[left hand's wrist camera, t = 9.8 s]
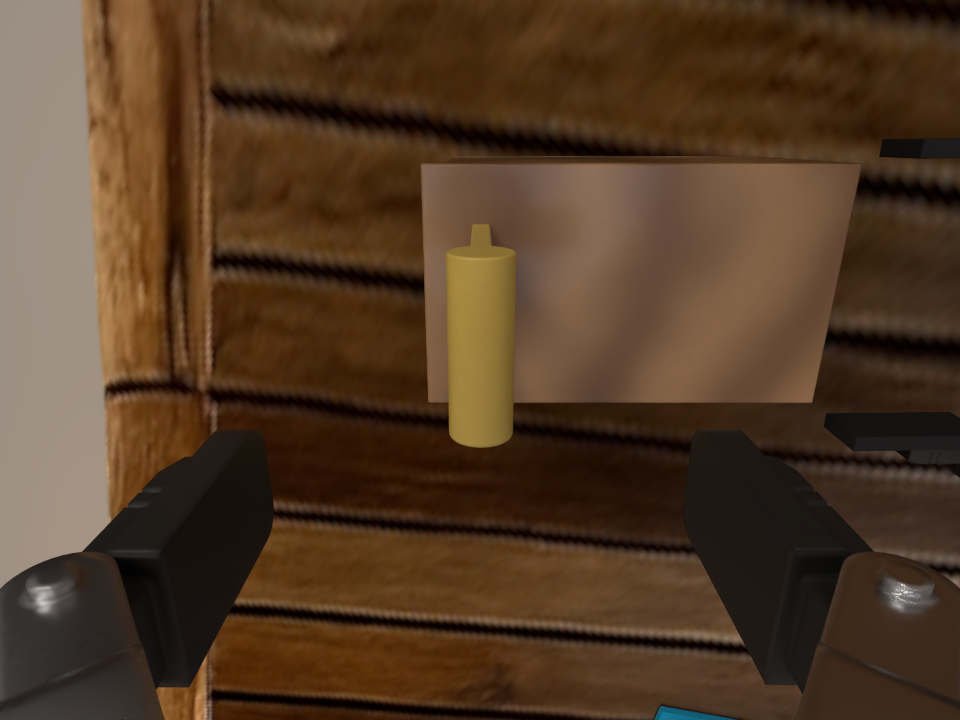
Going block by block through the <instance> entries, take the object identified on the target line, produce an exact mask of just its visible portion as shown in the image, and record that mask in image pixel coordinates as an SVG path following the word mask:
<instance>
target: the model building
mask: <svg viewBox="0 0 960 720" xmlns="http://www.w3.org/2000/svg"><path fill="white" fill-rule="evenodd" d="M655 720H737V719H731V718H726V717H720V716H715V715H709V714H703V713H698V712H692V711H687V710H681V709H676V708H670V707H664V706H660V709H659V711H658V713H657V715H656V717H655Z"/></svg>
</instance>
